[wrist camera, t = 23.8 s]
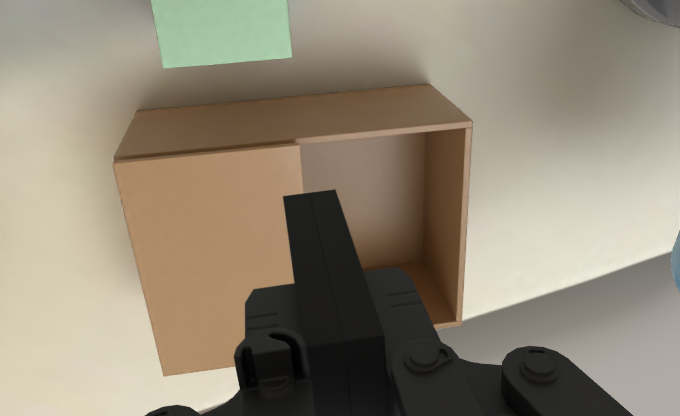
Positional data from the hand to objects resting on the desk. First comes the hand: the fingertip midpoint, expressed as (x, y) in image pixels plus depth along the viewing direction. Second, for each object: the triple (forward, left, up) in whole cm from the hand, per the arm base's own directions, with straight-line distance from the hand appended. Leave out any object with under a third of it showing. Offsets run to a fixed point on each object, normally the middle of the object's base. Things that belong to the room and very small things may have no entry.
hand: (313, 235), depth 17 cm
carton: (-1, +9, -22) cm, 24 cm away
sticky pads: (+2, -6, -22) cm, 23 cm away
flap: (+4, +9, -14) cm, 17 cm away
